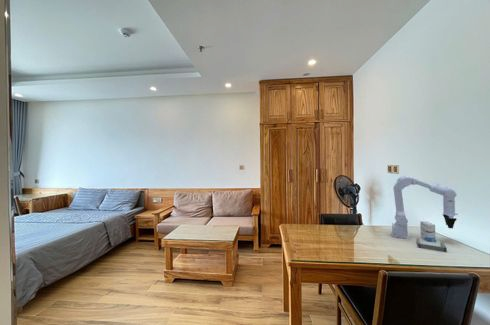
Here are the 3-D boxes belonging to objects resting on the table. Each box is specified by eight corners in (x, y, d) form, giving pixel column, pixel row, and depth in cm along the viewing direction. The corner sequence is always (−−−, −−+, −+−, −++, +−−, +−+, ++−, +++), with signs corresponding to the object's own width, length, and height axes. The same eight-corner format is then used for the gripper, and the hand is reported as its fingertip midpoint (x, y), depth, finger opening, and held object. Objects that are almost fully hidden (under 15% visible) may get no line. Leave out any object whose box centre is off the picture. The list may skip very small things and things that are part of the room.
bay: (418, 247, 137) (418, 243, 137) (416, 241, 147) (416, 237, 147) (446, 252, 129) (446, 248, 129) (443, 245, 139) (442, 241, 139)
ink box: (436, 242, 145) (435, 224, 145) (427, 241, 146) (427, 224, 146) (428, 237, 153) (427, 221, 153) (420, 237, 154) (419, 221, 154)
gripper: (459, 209, 137) (460, 230, 137) (454, 205, 148) (455, 224, 148) (444, 208, 141) (445, 228, 141) (441, 204, 153) (441, 223, 153)
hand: (449, 226), depth 145 cm, fingers open, 7 cm apart
